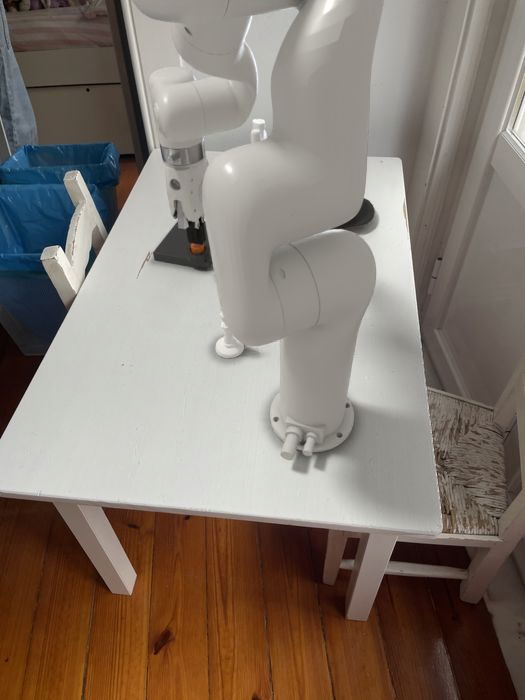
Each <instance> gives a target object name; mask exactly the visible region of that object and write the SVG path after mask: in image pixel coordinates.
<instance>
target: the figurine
mask: <svg viewBox="0 0 525 700" xmlns="http://www.w3.org/2000/svg"><path fill="white" fill-rule="evenodd" d="M251 123H252V125H251V127H252V130H251V131H250V143H254V142H257V141H261V140H265V139H267V138H268V135H267V131H266V129H265V128H266V121H265V119H262V118H253V119H252V120H251Z"/></svg>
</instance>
